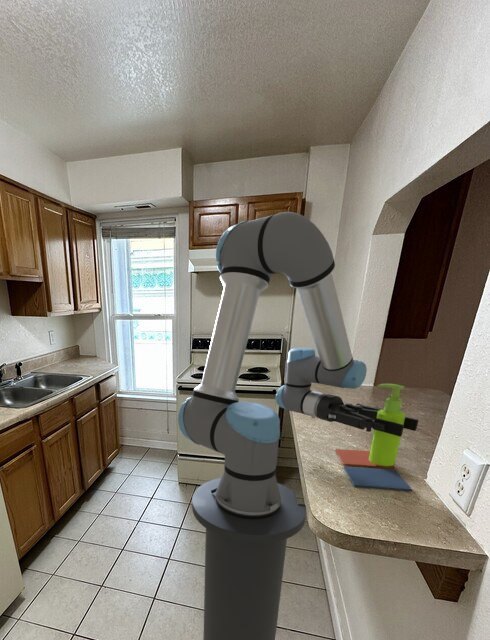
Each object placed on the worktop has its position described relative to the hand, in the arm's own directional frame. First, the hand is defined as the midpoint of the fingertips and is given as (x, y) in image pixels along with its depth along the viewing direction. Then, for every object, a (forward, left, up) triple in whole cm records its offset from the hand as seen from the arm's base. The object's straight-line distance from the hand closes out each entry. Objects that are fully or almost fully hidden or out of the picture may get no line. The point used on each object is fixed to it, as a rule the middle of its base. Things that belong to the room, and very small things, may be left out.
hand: (409, 428), depth 84 cm
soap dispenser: (-4, +4, -11) cm, 12 cm away
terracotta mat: (-3, +17, -16) cm, 23 cm away
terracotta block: (+1, +13, -15) cm, 20 cm away
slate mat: (-4, +4, -16) cm, 17 cm away
